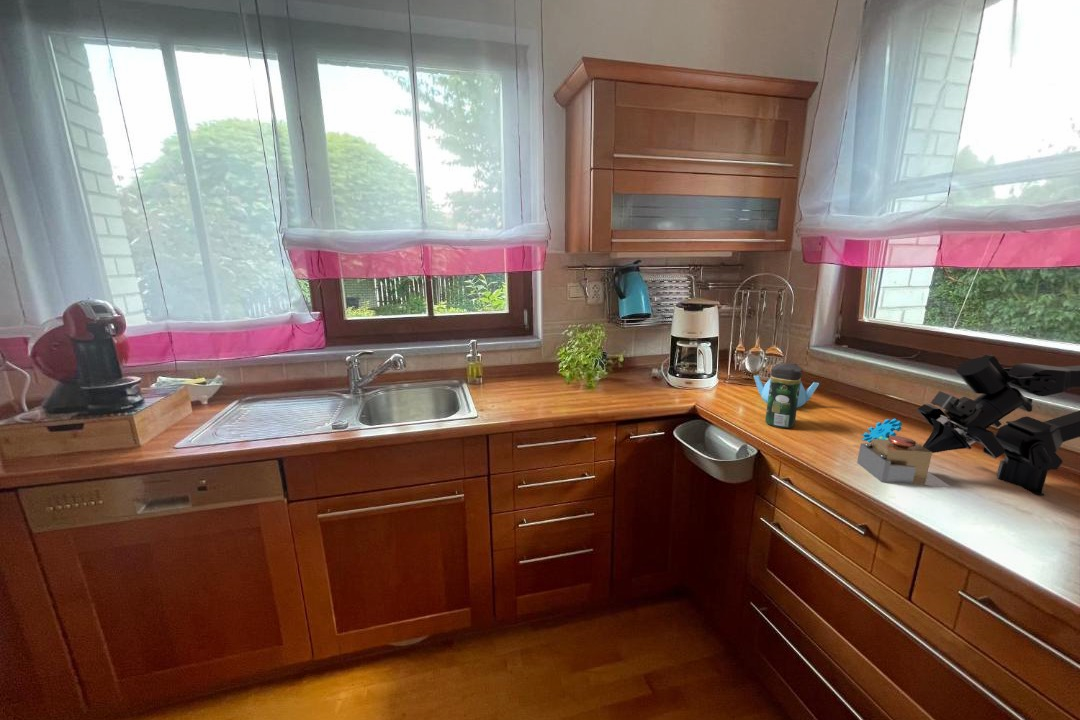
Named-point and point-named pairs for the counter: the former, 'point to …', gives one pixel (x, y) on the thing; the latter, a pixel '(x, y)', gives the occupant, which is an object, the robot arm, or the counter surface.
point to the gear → (883, 430)
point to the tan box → (905, 454)
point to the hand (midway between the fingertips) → (922, 452)
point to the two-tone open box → (891, 469)
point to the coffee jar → (783, 395)
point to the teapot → (803, 394)
